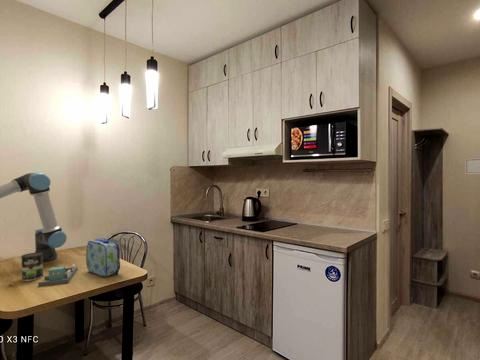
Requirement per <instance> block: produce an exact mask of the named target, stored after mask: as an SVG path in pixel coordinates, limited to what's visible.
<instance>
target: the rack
mask: <svg viewBox="0 0 480 360" xmlns="http://www.w3.org/2000/svg"><path fill="white" fill-rule="evenodd" d="M77 271H78V266H76V264H72V266H71V267H65V273H66V279H62V280H54V281H49V275H45V276H43V278H44V279H43V280H44V281H39V282H38V283H37V285H38V286H37V287H44V286H45V287H48V286H55V285H64V284H69V282H70V281H71V279H72V278H73V277H74V275H75V274H76V273H77Z"/></svg>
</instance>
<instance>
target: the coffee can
mask: <svg viewBox="0 0 480 360" xmlns="http://www.w3.org/2000/svg"><path fill="white" fill-rule="evenodd" d="M43 263H44V262H43V253H35V252H29V253H26V254H23V255H21V281H23V282H30V281H32V282H33V281H37V280H39V279H42V278H44V269H43V268H44V265H43Z"/></svg>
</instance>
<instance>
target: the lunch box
mask: <svg viewBox="0 0 480 360" xmlns="http://www.w3.org/2000/svg"><path fill="white" fill-rule="evenodd" d="M120 250H121V249H120V246H119V244H118V242H115V241H112V240H109V239H105V238H97V239H92V240H89V241H88V242H87V245H86V250H85V251H86V252H85V253H86V254H85V257H86V259H85V261H86V268H87V270H88V272H90V273H92V274H96V275H98V276H99V277H101V278H102V277H103V278H107V277H108V276H113V275H118V274H119V271H120V270H121V261H120V258H121V257H120V254H121V253H120Z"/></svg>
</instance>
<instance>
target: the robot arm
mask: <svg viewBox="0 0 480 360" xmlns="http://www.w3.org/2000/svg"><path fill="white" fill-rule="evenodd" d="M51 183H52V182H51V179H50V176H48V175H47V174H45V173H43V172H29V173H25V174H23V175H21V176H19V177H17V178H13V179H11V181H10V182H7V183H5V184H2V185H0V199H2V198H5V197H8V196H10V195H13V194H16V193H21V192H22V193H23V192H25V191H29V192H28V193H29V195H30V196H32V197H33V199H34V202H35V206H36V209H37V212H38V215H39V219H40V222H41V225H42V228H38V229H35V230H34V233H35V234H34V240H35V241H34V245H35V251H34V253H43V263H44V262H51V261H54V260H57V259H58V257H59V256H58V252H57V250H56V249H57V248H61V247H63V246H64V245H65V243H66V242H67V239H68V237H67V234H66V233H65V232H64V231H63V230H62V226H61V225H59V224H58V221H57V218H56V216H55V215H56V214H55V212H54V209H53V204H52V201H51V198H50V194H49V193H50V191H51V188H50V186H51ZM2 258H3V256H2V255H0V260H1V259H2Z"/></svg>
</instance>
